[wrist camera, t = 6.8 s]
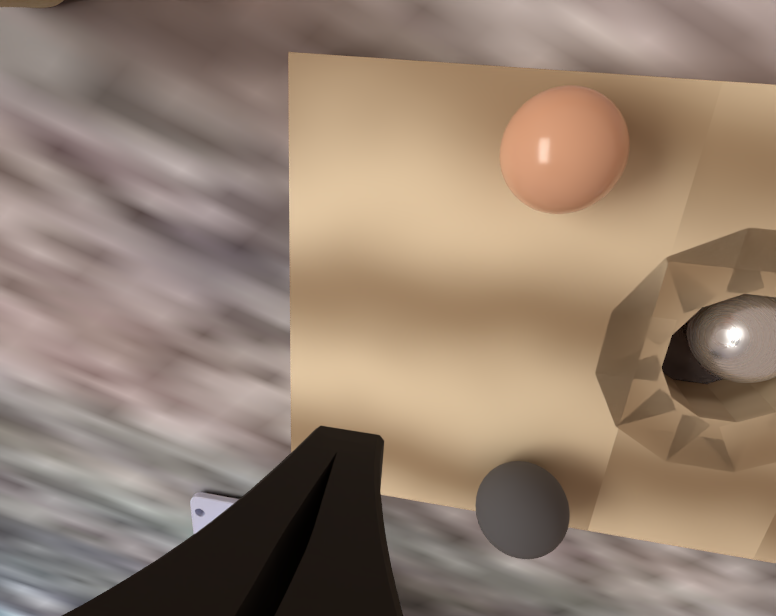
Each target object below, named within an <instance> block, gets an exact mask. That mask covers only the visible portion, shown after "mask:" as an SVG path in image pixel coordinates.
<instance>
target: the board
mask: <svg viewBox="0 0 776 616" xmlns="http://www.w3.org/2000/svg"><path fill="white" fill-rule="evenodd" d="M288 81H289V216H290V351H291V453H292V452H293V451H294V450H295V449H296V448H297V447H298V446H299V445H300V444H301V443H302V442H303V441H304V440H305V439H306V438H307V437H308V436H309V435H310V434H311V433H312V432H313V431H314V430H315V429H316V428H318V427H319V426H327V427H333V428H339V429H346V430H352V431H358V432H364V433H371V434H377V435H380V436H381V437H382V438H383V440H384V453H383V465H382V477H381V489H380V492H381V495H386V496H392V497H398V498H404V499H409V500H415V501H421V502H427V503H432V504H438V505H444V506H450V507H455V508H461V509H467V510H472V511H476V506H475V504H476V495H477V492H478V488H479V486H480V484H481V482H482V480H483V479H484V477H485V476H486V475H487V474H488V473H489V472H490V471H491V470H492V469H494V468H495V467H497V466H499V465H501V464H503V463H506V462H511V461H525V462H530V463H533V464H536V465H538V466H540V467H542V468H544V469H545V470H547V471H548V472H549V473H551V474H552V475H553V476H554V477H555V478H556V479H557V481H558V482H559V483H560V485H561V486H562V488H563V490H564V492H565V494H566V497H567V500H568V503H569V510H570V519H569V526H568V527H570V528H576V529H582V530H587V531H593V532H599V533H605V534H610V535H616V536H622V537H628V538H633V539H639V540H645V541H651V542H656V543H662V544H668V545H673V546H679V547H685V548H691V549H696V550H702V551H708V552H714V553H719V554H725V555H731V556H737V557H742V558H748V559H754V560H760V561H765V562H771V563H776V377H775V378H772V379H770V380H766V381H762V382H755V383H740V382H734V381H729V380H726V379H723V380H719V381H715V382H712V383H708V384H701V383H694V382H687V381H679V380H673V379H671V378H670V377H668V376H667V375H666V374H664V373H663V371H662V364H663V361H664V358H665V355H666V352H667V349H668V346H669V343H670V340H671V337H672V335H673V334H674V333H675V332H676V331H677V330H678V329H679V328H680V327H681V326H682V325H684V324H685V323H686V322H687V321H688V320H689V319H690V318H691V317H692V316H693V315H695V314H696V313H697V312H698V311H699V310H700V309H701V308H702V307H705V306H709V305H712V304H715V303H718V302H721V301H724V300H727V299H730V298H733V297H736V296H739V295H742V294H751V295H760V296H769V297H776V85H770V84H755V83H740V82H726V81H711V80H696V79H681V78H666V77H651V76H636V75H622V74H607V73H592V72H577V71H562V70H547V69H532V68H517V67H503V66H488V65H473V64H458V63H443V62H428V61H413V60H399V59H384V58H369V57H354V56H339V55H324V54H309V53H295V52H288ZM565 85H576V86H583V87H587V88H590V89H593V90H596V91H598V92H600V93H602V94H603V95H605V96H606V97H608V98H609V99H610V100H611V101H612V102H613V103H614V104H615V105H616V106H617V107H618V109H619V110H620V112H621V113H622V115H623V117H624V119H625V122H626V124H627V127H628V132H629V139H630V149H629V156H628V160H627V164H626V167H625V169H624V171H623V174H622V176H621V177H620V179H619V181H618V182H617V184H616V185H615V186H614V187H613V189H612V190H611V191H610V192H609V193H608V194H607V195H606V196H605V197H603V198H602V199H601V200H600V201H598V202H597V203H595V204H593V205H592V206H590V207H588V208H586V209H583V210H580V211H577V212H573V213H568V214H549V213H543V212H540V211H537V210H534V209H532V208H530V207H528V206H527V205H525V204H523V203H522V202H521V201H520V200H519V199H517V198H516V197H515V195H514V194H513V193H512V192H511V191H510V189H509V188H508V186H507V185H506V182H505V180H504V178H503V175H502V172H501V167H500V158H499V153H500V145H501V140H502V137H503V134H504V131H505V129H506V127H507V125H508V123H509V121H510V119H511V118H512V116H513V115H514V114H515V113H516V111H517V110H518V109H519V108H520V107H521V106H522V105H523V104H524V103H525V102H526V101H528V100H529V99H530V98H532V97H533V96H535V95H537V94H539V93H540V92H543V91H545V90H548V89H550V88H554V87H558V86H565Z"/></svg>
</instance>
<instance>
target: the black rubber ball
mask: <svg viewBox="0 0 776 616" xmlns="http://www.w3.org/2000/svg"><path fill="white" fill-rule="evenodd" d="M475 506H476V515H477V519H478V523H479V525H480V528H481V530H482V532H483V533H484V535H485V536H486V538H487V539H488V540H489V541H490V543H492V544H493V545H494V546H495V547H496V548H497V549H498V550H500V551H502V552H503V553H505V554H507V555H509V556H512V557H515V558H520V559H534V558H539V557H542V556H544V555H546V554H548V553H550V552H551V551H553V550H554V549H555V548H556V547H557V546H558V545H559V544H560V543H561V541H562V540H563V538H564V536H565V534H566V532H567V529H568V526H569V519H570V510H569V503H568V500H567V497H566V494H565V492H564V490H563V488H562V486H561V485H560V483H559V482H558V481H557V479H556V478H555V477H554V476H553V475H552V474H551V473H549V472H548V471H547V470H545V469H544V468H542V467H540V466H538V465H536V464H533V463H530V462H525V461H511V462H506V463H503V464H501V465H499V466H497V467H495V468H494V469H492V470H491V471H490V472H489V473H488V474H487V475H486V476H485V477H484V479H483V480H482V482H481V484H480V486H479V488H478V492H477V495H476V504H475Z"/></svg>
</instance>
